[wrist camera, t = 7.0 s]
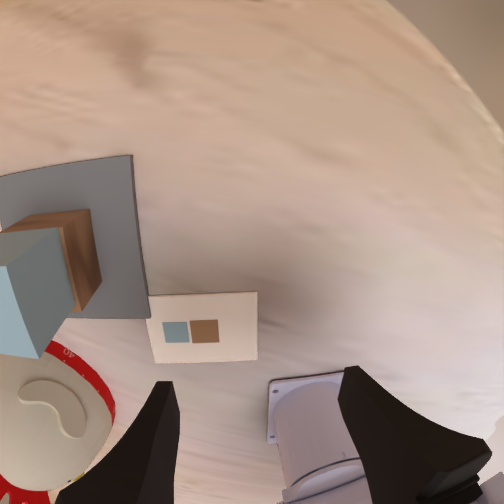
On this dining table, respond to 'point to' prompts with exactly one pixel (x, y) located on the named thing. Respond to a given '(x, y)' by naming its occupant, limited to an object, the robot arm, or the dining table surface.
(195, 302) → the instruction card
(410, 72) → the dining table surface
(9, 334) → the blue brick
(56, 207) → the slate mat
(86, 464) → the kitchen timer
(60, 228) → the walnut block
